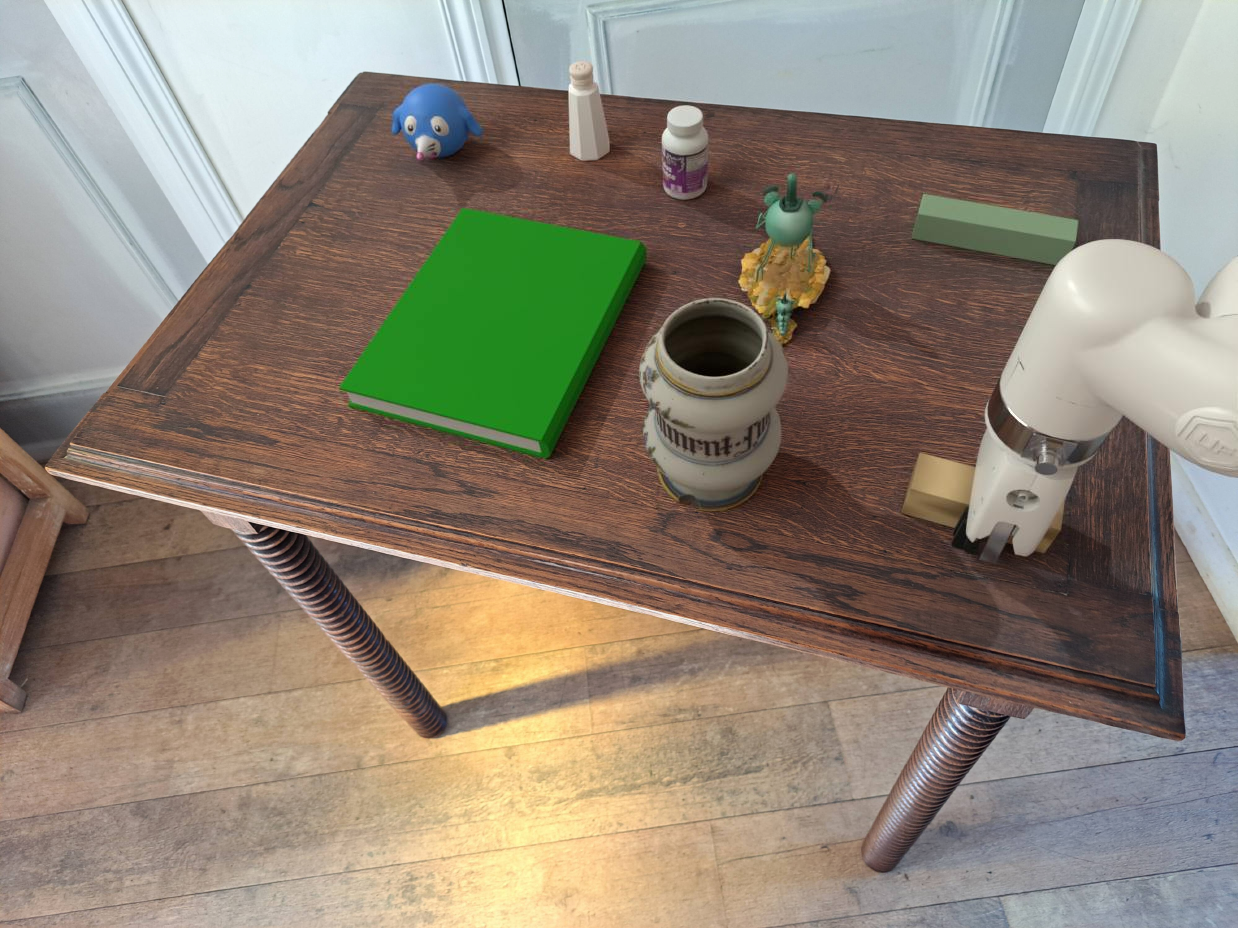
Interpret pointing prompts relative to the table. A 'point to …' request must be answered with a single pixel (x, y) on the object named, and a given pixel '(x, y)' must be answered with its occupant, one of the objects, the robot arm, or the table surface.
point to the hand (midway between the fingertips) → (971, 543)
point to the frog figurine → (785, 260)
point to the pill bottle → (685, 153)
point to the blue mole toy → (434, 121)
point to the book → (498, 331)
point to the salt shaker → (586, 115)
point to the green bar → (995, 229)
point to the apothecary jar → (712, 402)
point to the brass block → (951, 495)
